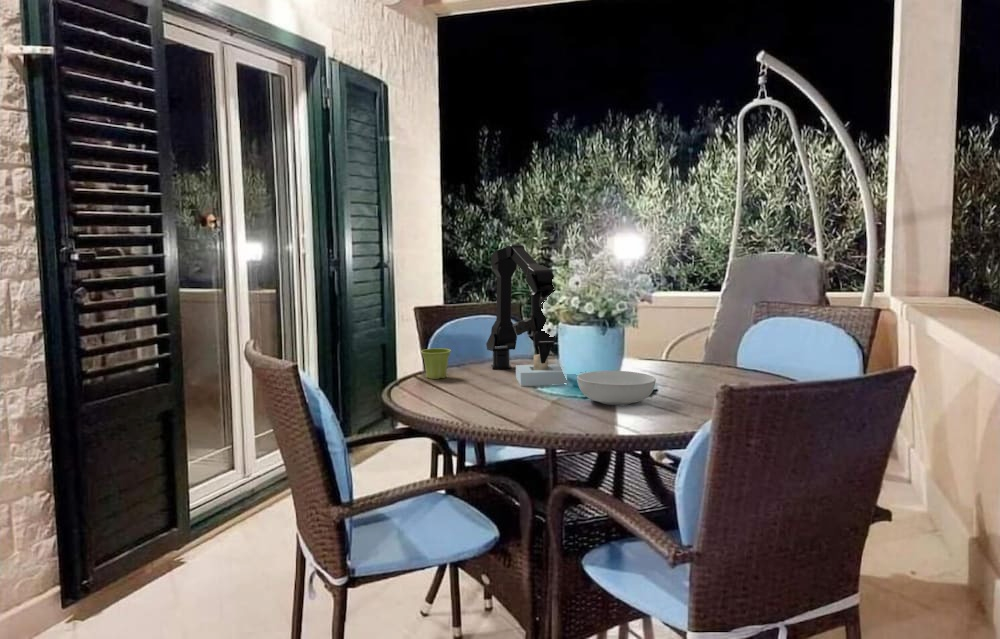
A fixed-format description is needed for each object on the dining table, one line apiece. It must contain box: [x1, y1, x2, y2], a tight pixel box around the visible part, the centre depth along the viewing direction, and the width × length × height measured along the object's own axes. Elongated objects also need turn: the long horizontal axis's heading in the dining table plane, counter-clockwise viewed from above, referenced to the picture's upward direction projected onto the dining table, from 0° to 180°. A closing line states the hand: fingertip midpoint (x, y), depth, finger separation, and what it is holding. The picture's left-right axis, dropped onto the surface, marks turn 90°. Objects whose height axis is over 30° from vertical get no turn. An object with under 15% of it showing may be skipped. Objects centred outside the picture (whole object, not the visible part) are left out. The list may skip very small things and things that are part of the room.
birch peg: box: [533, 354, 549, 370], centre depth 245 cm, size 4×4×8 cm
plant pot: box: [420, 348, 452, 380], centre depth 253 cm, size 9×9×9 cm
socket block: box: [515, 363, 568, 387], centre depth 245 cm, size 14×14×4 cm
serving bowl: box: [576, 370, 657, 406], centre depth 214 cm, size 21×21×7 cm
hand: (540, 360), depth 244 cm, fingers open, 9 cm apart
